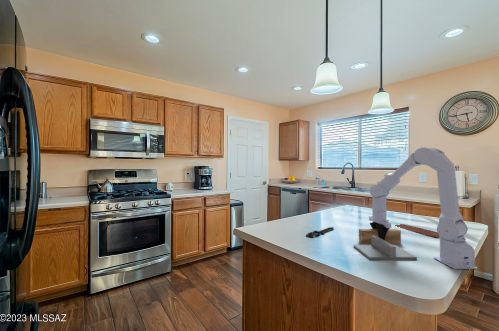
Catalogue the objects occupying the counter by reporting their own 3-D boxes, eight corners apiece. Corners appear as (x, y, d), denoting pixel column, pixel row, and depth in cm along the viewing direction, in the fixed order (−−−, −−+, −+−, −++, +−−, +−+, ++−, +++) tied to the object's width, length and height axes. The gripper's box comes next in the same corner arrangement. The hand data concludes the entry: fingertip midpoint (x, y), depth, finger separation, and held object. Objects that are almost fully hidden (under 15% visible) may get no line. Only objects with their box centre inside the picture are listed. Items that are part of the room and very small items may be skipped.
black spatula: (331, 228, 135) (331, 225, 135) (341, 230, 129) (341, 228, 129) (302, 236, 120) (302, 233, 120) (312, 239, 114) (312, 236, 114)
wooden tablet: (451, 238, 115) (451, 234, 115) (436, 239, 112) (436, 236, 112) (403, 224, 141) (403, 222, 141) (390, 226, 138) (390, 223, 138)
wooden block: (400, 243, 106) (400, 230, 106) (361, 243, 107) (361, 230, 107) (397, 241, 109) (397, 228, 109) (359, 241, 110) (358, 228, 110)
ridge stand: (416, 259, 88) (416, 246, 88) (369, 259, 88) (369, 246, 88) (394, 246, 102) (393, 235, 102) (353, 247, 102) (353, 235, 102)
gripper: (398, 213, 101) (398, 244, 101) (378, 207, 115) (379, 234, 115) (382, 213, 101) (382, 244, 101) (364, 207, 115) (365, 234, 115)
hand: (379, 239), depth 108 cm, fingers closed on wooden block, 3 cm apart
